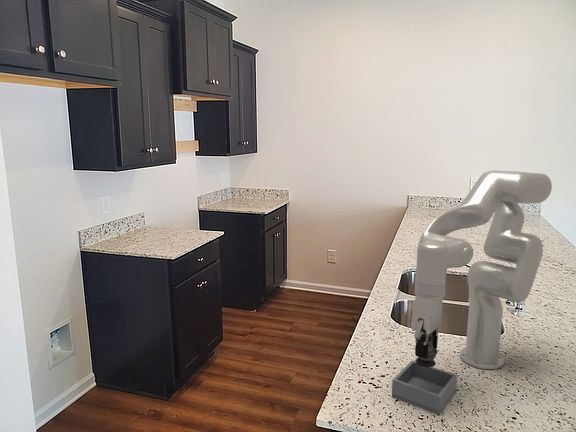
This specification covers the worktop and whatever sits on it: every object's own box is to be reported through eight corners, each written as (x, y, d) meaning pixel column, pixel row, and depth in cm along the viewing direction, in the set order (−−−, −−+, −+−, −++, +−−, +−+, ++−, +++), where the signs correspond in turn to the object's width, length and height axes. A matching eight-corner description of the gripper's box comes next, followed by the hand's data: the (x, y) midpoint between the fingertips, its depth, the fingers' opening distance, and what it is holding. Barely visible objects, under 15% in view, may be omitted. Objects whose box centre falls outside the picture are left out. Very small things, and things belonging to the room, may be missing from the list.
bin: (411, 376, 132) (412, 360, 131) (456, 391, 124) (457, 375, 123) (391, 396, 122) (392, 379, 121) (439, 414, 114) (440, 397, 113)
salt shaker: (410, 362, 121) (412, 320, 119) (420, 354, 125) (422, 314, 123) (430, 370, 117) (433, 327, 115) (440, 362, 121) (443, 320, 119)
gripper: (428, 277, 126) (424, 337, 129) (402, 294, 113) (399, 360, 116) (455, 282, 122) (451, 344, 125) (431, 301, 108) (427, 370, 112)
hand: (426, 351), depth 121 cm, fingers closed on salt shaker, 5 cm apart
